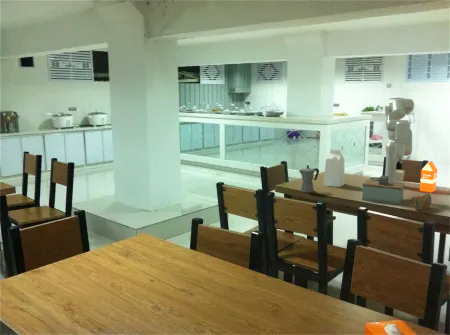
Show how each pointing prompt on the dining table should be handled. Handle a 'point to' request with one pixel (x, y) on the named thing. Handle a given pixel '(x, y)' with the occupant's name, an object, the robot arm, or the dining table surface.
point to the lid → (383, 183)
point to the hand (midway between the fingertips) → (398, 169)
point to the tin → (422, 202)
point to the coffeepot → (308, 179)
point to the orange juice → (428, 178)
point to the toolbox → (383, 194)
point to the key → (399, 175)
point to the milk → (334, 169)
